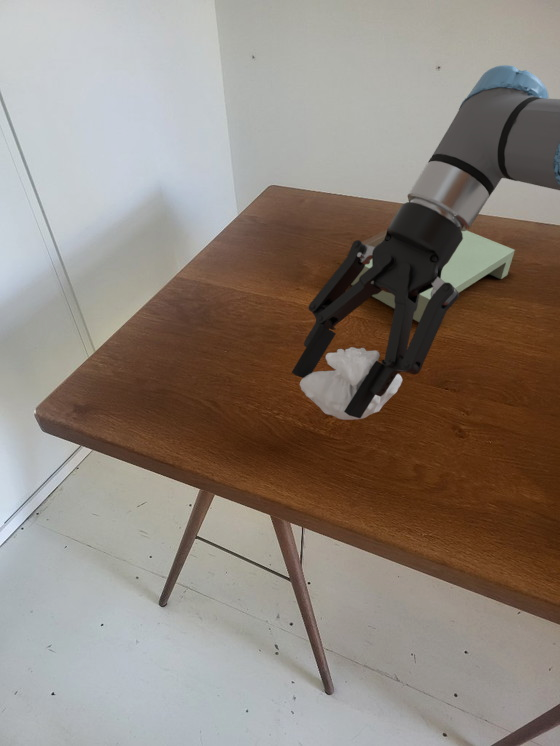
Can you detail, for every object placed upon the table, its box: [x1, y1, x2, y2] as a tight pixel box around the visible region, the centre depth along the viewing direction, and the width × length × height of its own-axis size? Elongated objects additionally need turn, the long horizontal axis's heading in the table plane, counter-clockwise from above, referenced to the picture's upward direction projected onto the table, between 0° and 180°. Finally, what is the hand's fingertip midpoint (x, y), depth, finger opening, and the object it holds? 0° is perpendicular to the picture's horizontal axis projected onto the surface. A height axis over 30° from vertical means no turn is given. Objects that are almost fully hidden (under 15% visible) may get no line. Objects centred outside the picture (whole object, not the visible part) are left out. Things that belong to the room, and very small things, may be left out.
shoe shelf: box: [350, 229, 516, 323], centre depth 89 cm, size 17×22×7 cm
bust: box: [299, 346, 403, 421], centre depth 60 cm, size 12×8×11 cm
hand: (325, 394), depth 60 cm, fingers closed on bust, 8 cm apart
